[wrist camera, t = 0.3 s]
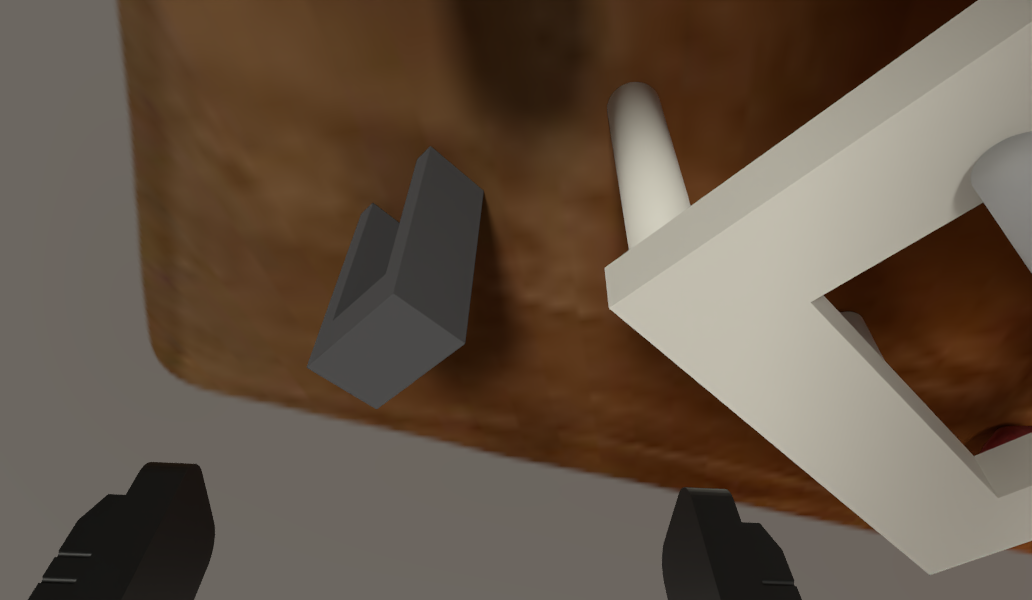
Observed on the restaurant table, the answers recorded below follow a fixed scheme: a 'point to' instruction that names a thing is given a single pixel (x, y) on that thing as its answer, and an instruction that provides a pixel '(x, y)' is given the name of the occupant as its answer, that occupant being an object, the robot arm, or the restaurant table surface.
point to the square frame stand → (842, 275)
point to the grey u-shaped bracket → (403, 287)
